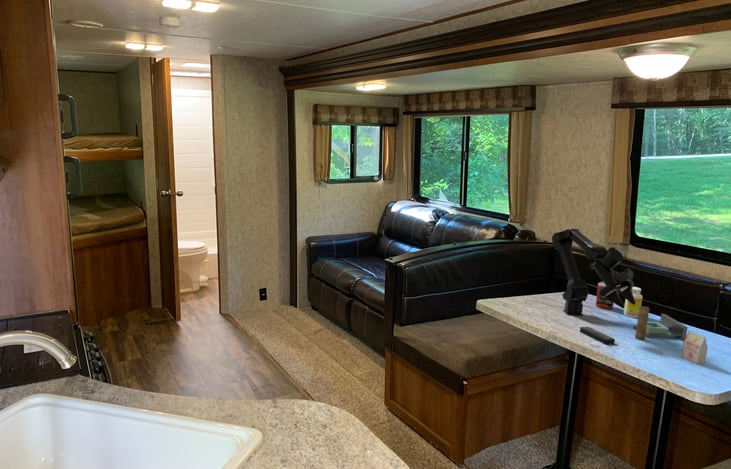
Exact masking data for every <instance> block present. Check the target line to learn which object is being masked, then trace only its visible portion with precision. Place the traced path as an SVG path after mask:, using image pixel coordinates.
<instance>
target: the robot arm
mask: <svg viewBox="0 0 731 469" xmlns="http://www.w3.org/2000/svg"><path fill="white" fill-rule="evenodd" d="M551 242H552V244H553V247H554V248H555V249H556V250H557V251H558V252H559V254H560V257H561V261H562V263H563V266H564V271H565V274H566V276H567V281H568V282H567V285H566V290H565V292H563V293H562V299H563V300H565V304H564V305H565V306H564V309H563V310H562V311H563V312H564V313H565V314H566V315H568V316H583V309H584V308H583V306H584V304H583V302H586V301H587V298H588V296H589V293H590V292H589V286H588V283H587V280H586V279H582V278H581V277H580V273H579V271H578V268H577V264H576V261H575V257H574V254H573V252H572V246H573V243H575V244H576V245H577V246H579V248H581V250H583V253H584V256H586V258H587V259H588V260H589V261H593V262H591V263H590V266H589V270H590V271H592V270H595V272H596V274H597V275H598V276H599V278H600V279H599V281H600V282H604V283H605V285H606V286H605V287H604V288H602V289H601V290H599V294H600V296H601V297H604V296H605V297H604V298H606V299H608V300H609V301H611V302H613V303H614V304H615V305H616V306H618V307H620V308H621V309H624V308H625V303H624V302H623V300H622V299H621V297H620V296H622V297H623V298H624V299H625V300H626V299H627V300H628V301H629V302H630V303H632V304H633V305H634V304H636V303H635V300H634V296H633V293H632V288H633V287H635V286H634V284H635V283H634V281H633V280H632V279H634V274H635V273H634V272H633V270H631V269H630V268H625V269H624V270H623V272H618V271H616V270H613V268H614V267H616V266H617V265H619V263H621V262H623V260H624V255H623V253H621V251H619V250H618V249H616V247H615V246H614V247H611V246H610V247H609V248H608V249H607V248H606V247H605V246H603V245H602V244H599V243H596V242H593V241H592V240H591V239H589V238H588V237H587V236H585V234H583V233H582V232H581V231H580V230H579V229H578V228H567V229H565V230H562V231H559V232H554V233H553V235H552V236H551ZM594 261H595V262H594ZM619 294H620V295H619Z"/></svg>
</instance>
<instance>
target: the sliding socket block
mask: <svg viewBox="0 0 731 469" xmlns="http://www.w3.org/2000/svg"><path fill="white" fill-rule="evenodd" d="M668 332H669V328H667V327H665V326H664V325H662V324H660V321H659V322H658V321H648V322H647V329H646V333H650V334H669V333H668Z"/></svg>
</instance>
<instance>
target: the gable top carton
mask: <svg viewBox="0 0 731 469" xmlns="http://www.w3.org/2000/svg"><path fill="white" fill-rule="evenodd" d="M706 338H707V337H706V336H703V335H701V334H698V333H696V332H694V331H691V330H688V331H687V334H686V338H685V340H684V341H683V343H682V344H683V345H682V349H681V354H680V355H681V358H683V359H685V360H687V361H688V362H691V363H694V365H705V364H706V360H707V355H708V354H707V353H708V344H707V339H706Z"/></svg>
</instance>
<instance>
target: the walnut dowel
mask: <svg viewBox="0 0 731 469" xmlns="http://www.w3.org/2000/svg"><path fill="white" fill-rule="evenodd" d="M649 313H650V307H648V306H644V305H641V306H640V307H639V314H638V318H637V322H636V325H637V328H636V329H635V334H634V335H635V337H634V339H636V340H639V341H645V340H646V337H645V335H646V329H647V322H649V315H650V314H649Z"/></svg>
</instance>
